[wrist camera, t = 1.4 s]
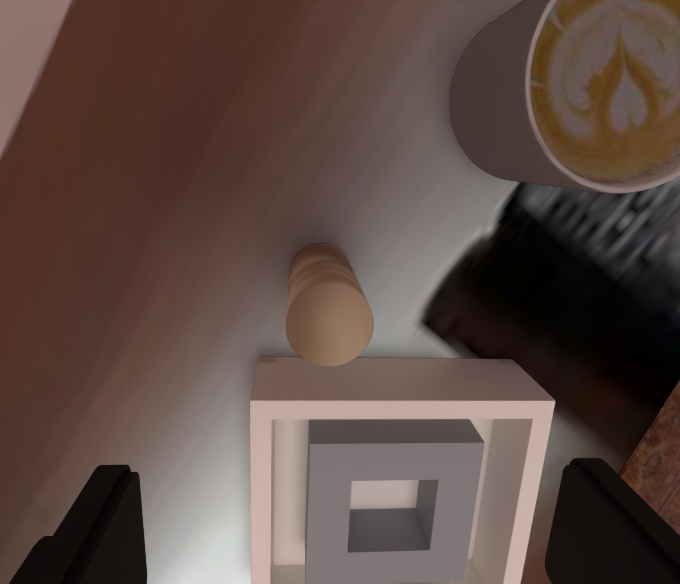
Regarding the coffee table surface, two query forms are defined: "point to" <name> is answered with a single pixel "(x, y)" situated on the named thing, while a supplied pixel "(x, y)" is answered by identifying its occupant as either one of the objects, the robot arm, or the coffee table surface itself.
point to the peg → (326, 307)
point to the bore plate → (395, 523)
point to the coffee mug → (574, 94)
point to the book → (659, 463)
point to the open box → (397, 403)
